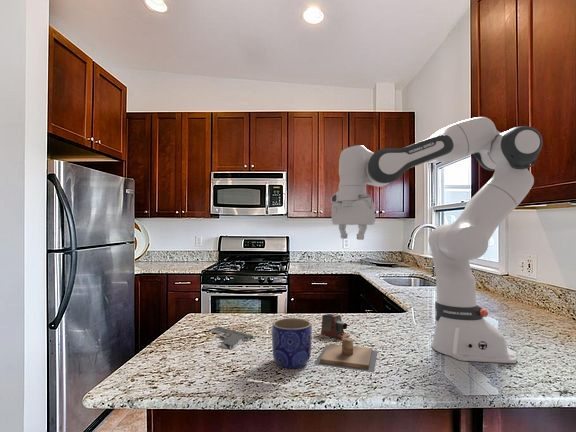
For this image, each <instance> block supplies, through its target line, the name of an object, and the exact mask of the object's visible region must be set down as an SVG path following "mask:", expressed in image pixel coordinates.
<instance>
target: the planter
mask: <svg viewBox="0 0 576 432" xmlns="http://www.w3.org/2000/svg"><path fill="white" fill-rule="evenodd" d="M271 324H272V325H271V327H272V328H271V349H272V357H273V359H274V361H275V363H276V364H277V365H278V366H280V367H281V368H284V369H291V370H293V369H300V368H303V367H304V366H306V365H307V364H308V362H309V360H310V358H311V353H312V340H313V339H312V337H313V336H312V329H313V328H312V323H311V321H309V320H307V319H304V318H297V317H296V318H295V317H287V318H280V319H276V320H274V321H273V322H272V323H271Z"/></svg>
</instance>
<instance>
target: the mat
mask: <svg viewBox="0 0 576 432" xmlns="http://www.w3.org/2000/svg"><path fill="white" fill-rule="evenodd" d="M328 346H329V344H325V345H324V347H323V349H322V350H321V352H320V353H319V355H318V356H317V358H316V360H315V361H314V363H313V364H314V365H316V366H323V367H324V366H325V367H332V368H339V369H345V370H346V369H347V370H355V371H361V372H367V373H368V372H370V373H375V369H376V364H377V359H378V358H377V357H378V352H379V351H378V350H374V349H372V356H371V361H370V365H369V369H364V368H357V367H349V366H342V365H334V364H327V363H320V359H321V357H322V355H323V354H324V352H325V351H326V349H327V347H328Z"/></svg>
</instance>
